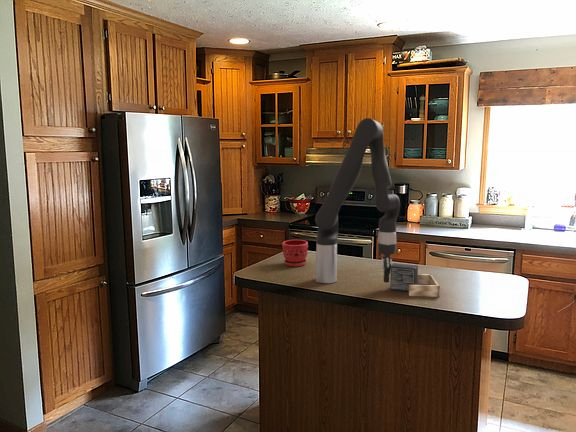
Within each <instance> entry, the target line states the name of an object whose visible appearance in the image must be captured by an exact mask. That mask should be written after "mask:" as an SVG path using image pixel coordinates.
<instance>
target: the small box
mask: <svg viewBox="0 0 576 432" xmlns="http://www.w3.org/2000/svg"><path fill="white" fill-rule="evenodd" d="M418 274H419V265H416V264H407V263H396V262H395V263H394V262H393V263H391V270H390V281H389V283H390V288H389V290H390V291H397V292H405V293H409V285H418V284H417V283H418Z"/></svg>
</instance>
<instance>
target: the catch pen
mask: <svg viewBox="0 0 576 432" xmlns="http://www.w3.org/2000/svg"><path fill="white" fill-rule="evenodd" d="M440 290H441V289H440V285H439V283H438V282H437V279H436V278H434V276H433V275H432V274H429V273H428V274H427V273H424V274H423V273H421V274H420V273H418V283H417V285H409V292H408V296H409V297H430V298H431V297H433V298H434V297H436V298H437V297H438V298H439V297H440Z"/></svg>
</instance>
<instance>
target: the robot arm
mask: <svg viewBox="0 0 576 432" xmlns="http://www.w3.org/2000/svg"><path fill="white" fill-rule="evenodd" d="M356 126H357V127H356V129H355V131H354V134H353V137H352V138H351V139H352V140H351V142H350V145H349V147H348V149H347V151H346V153H345V154H344V158H343V160H342V162H341V164H340V165H339V168H338V170H337V171H336V173H335V175H334V178H333V181H332V183H331V186H330V187H329V190H328V194H327V195H326V198H325V199H324V202H323V203H322V205H321V207H319V209H318V211H317V212H316V214H315V216H314V217H315V218H314V221H315V224H316V227H317V232H316V233H317V235H316V238H315V239H316V240H315V241H316V248H315V249H316V250H315V252H316V253H315V254H316V257H315V259H316V260H315V283H321V284H333V283H336V282H337V279H338V272H337V271H338V270H337V269H338V267H337V266H338V238H339V237H338V236H339V212H340V209H341V207H342V206H343V203H344V202H345V200H346V198H347V197H348V196H349V195H350V193H351V192H352V190H353V188H354V186H355V185H356V183H357V181H358V179H359V177H360V174H361V171H362V169H363V168H362V167H363V161H364V156H365V154H366V151H367V149H369V151H370V161H371V163H370V166H371V167H370V168H371V176H372V179H373V183H374V204H375V207H376V208H377V210H378V211H379V212H381V213H384V215H383V216H382V217H380V218H379V220H378V234H377V253H379V254H381V255H383V256H381V266H382V267H381V268H382V272H383V282H384V283H390V275H391V265H392V263H393V262H392V261H393V258H392V256H391V255H395V254H396V253H397V220H398V218H399V213H400V211H401V210H400V209H401V201H400V198H399V196H398V195H397V194H396V193H391V194H390V193H388V190H389V189H390V188H391V187H392V185H393V183H392V178H391V173H390V169H389V166H388V162H387V157H386V151H385V142H384V129H383V125H382V124H381V123H380V122H379V121H377V120H375V119H373V118H370V117H367V118H364V119H362V120H360V121H359V122H358V124H357V125H356Z"/></svg>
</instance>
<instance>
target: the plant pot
mask: <svg viewBox="0 0 576 432" xmlns="http://www.w3.org/2000/svg"><path fill="white" fill-rule="evenodd" d="M281 245H282V246H281V247H282V254H283V257H284V261H283V262H284V264H285V265H286V266H288V265H289V266H288V267H302V265H303V266H305V265H306V264H307V261H308V260H307V256H308V252H309V243H308V241H307V240H303V239H288V240H285V241H283V242H282V244H281Z"/></svg>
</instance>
